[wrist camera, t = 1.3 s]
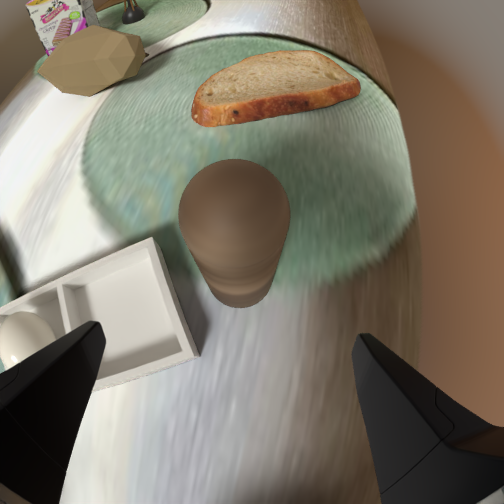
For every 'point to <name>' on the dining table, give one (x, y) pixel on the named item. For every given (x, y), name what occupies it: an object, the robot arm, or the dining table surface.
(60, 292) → the white divided tray
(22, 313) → the cream white ball
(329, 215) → the dining table surface
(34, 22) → the candy bar box
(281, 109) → the slice of bread
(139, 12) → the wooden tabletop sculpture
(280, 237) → the brown domed cylinder
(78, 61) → the low-poly potato
